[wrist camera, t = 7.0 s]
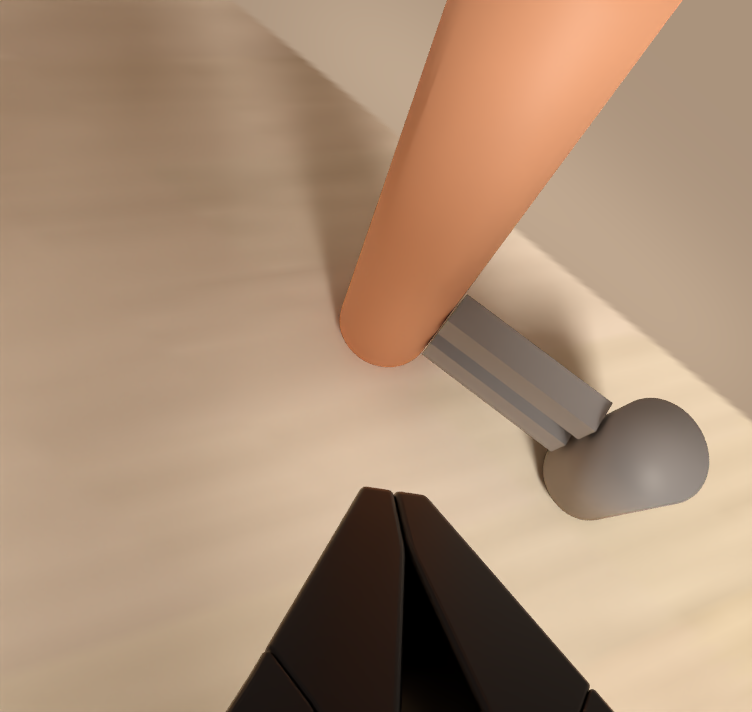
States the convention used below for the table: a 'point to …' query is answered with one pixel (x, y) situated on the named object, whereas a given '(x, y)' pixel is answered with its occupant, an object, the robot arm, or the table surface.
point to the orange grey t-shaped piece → (495, 222)
